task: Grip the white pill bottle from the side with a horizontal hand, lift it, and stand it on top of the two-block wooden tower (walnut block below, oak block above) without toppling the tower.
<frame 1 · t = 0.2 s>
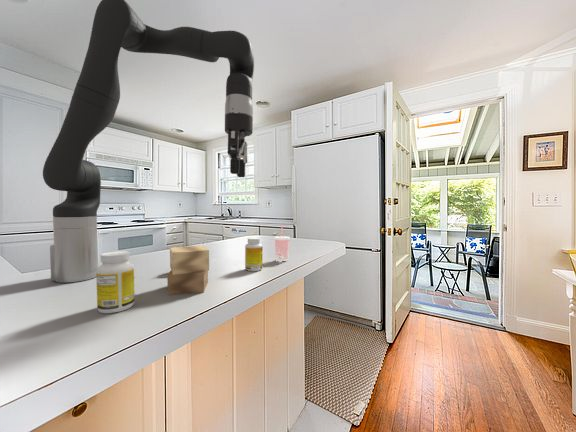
hand: (238, 175, 69), 29 cm above the counter, tool pointing down, fingers open, 8 cm apart
upper block: (189, 268, 62), point 5 cm above the counter, touching lower block
supplement bottle: (253, 270, 80), on the counter
lower block: (189, 288, 62), on the counter, touching upper block
beverage cup: (281, 261, 93), on the counter
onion: (184, 272, 77), on the counter
pill bottle: (116, 308, 50), on the counter
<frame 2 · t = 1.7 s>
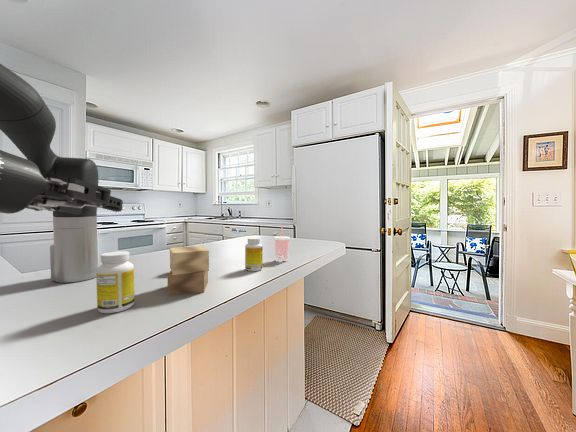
hand: (100, 207, 44), 20 cm above the counter, tool horizontal, fingers open, 8 cm apart
nothing on the counter moved.
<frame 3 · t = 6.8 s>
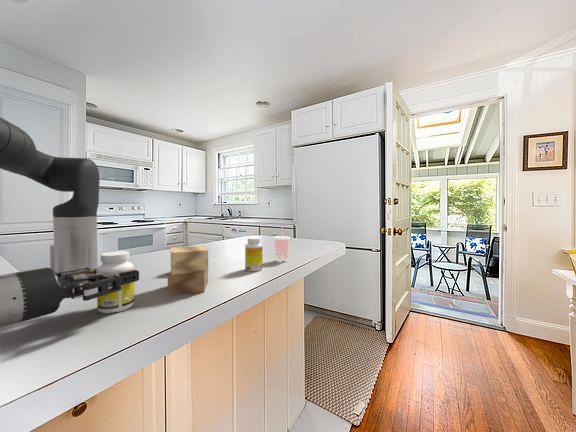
hand: (128, 272, 52), 7 cm above the counter, tool horizontal, fingers closed on pill bottle, 6 cm apart
pill bottle: (116, 308, 50), on the counter, touching gripper
everything else where it was.
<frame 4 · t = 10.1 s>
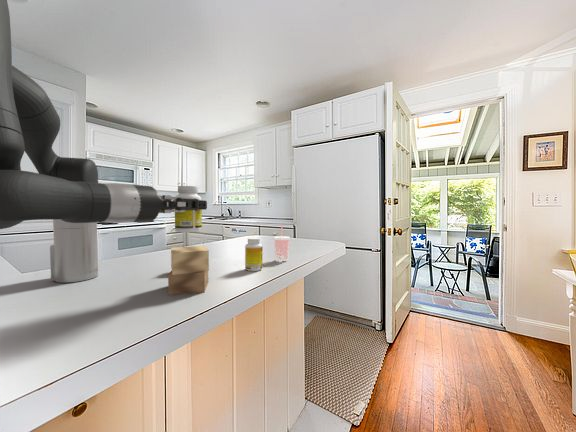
hand: (196, 205, 63), 21 cm above the counter, tool horizontal, fingers closed on pill bottle, 6 cm apart
pill bottle: (188, 232, 61), point 14 cm above the counter, touching gripper
everything else where it was.
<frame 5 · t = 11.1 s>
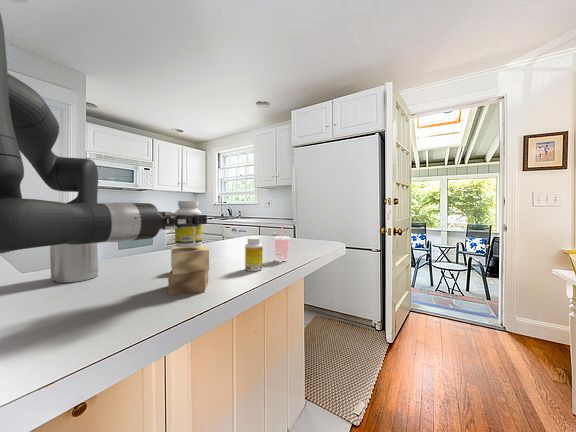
hand: (196, 218, 63), 17 cm above the counter, tool horizontal, fingers closed on pill bottle, 6 cm apart
upper block: (189, 268, 62), point 5 cm above the counter
lower block: (189, 288, 62), on the counter
pill bottle: (188, 246, 61), point 10 cm above the counter, touching gripper
everything else where it was.
when the fingers open (17 cm above the counter, at t = 11.3 s): pill bottle stays where it is, resting on upper block.
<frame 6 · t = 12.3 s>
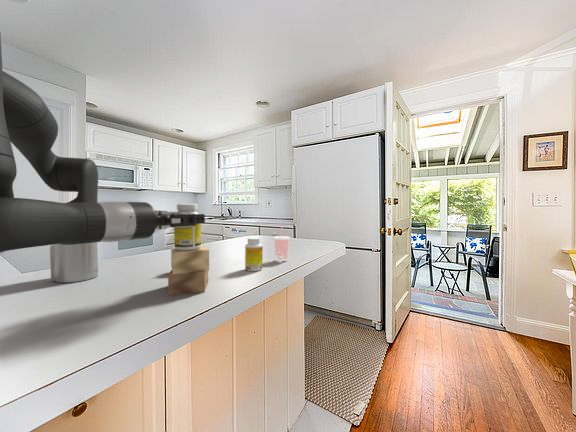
hand: (191, 217, 62), 17 cm above the counter, tool horizontal, fingers open, 8 cm apart
upper block: (189, 268, 62), point 5 cm above the counter, touching lower block, pill bottle
lower block: (189, 288, 62), on the counter, touching upper block
pill bottle: (188, 249, 62), point 10 cm above the counter, touching upper block
everything else where it was.
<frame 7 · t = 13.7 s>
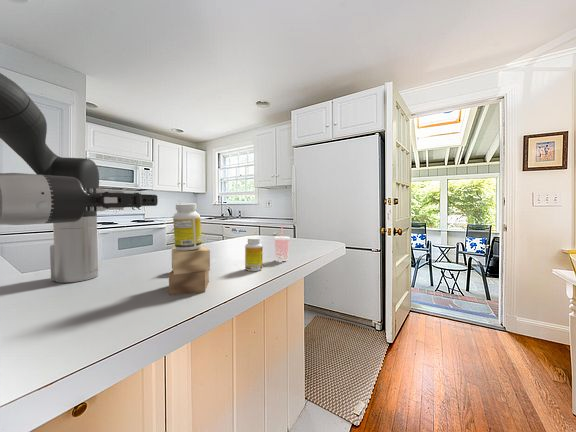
hand: (143, 199, 52), 22 cm above the counter, tool horizontal, fingers open, 8 cm apart
nothing on the counter moved.
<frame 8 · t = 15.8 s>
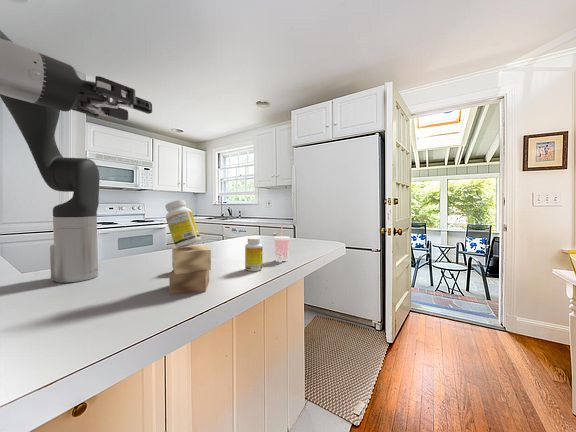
hand: (138, 112, 52), 40 cm above the counter, tool horizontal, fingers open, 8 cm apart
at the end: pill bottle inside the target area on the lower block (0.2 cm from its centre), point 10.5 cm above the lower block's base; pill bottle tilted 14°; upper block tilted 0° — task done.
